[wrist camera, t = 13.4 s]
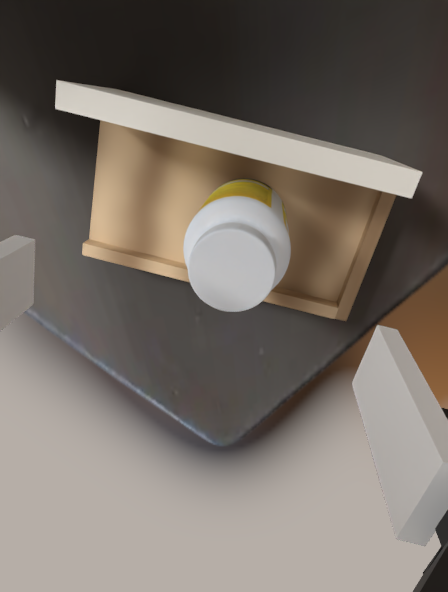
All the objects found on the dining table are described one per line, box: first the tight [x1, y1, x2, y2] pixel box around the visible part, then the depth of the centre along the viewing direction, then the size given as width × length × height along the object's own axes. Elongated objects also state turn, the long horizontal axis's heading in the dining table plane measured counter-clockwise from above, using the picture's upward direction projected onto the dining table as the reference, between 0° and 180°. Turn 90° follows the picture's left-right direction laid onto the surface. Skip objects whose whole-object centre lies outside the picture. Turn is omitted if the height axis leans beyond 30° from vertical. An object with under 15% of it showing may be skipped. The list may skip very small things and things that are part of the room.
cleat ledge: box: [82, 120, 396, 321], centre depth 33 cm, size 22×11×4 cm, turn 77°
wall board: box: [55, 80, 423, 199], centre depth 28 cm, size 21×2×10 cm, turn 77°
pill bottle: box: [183, 178, 291, 312], centre depth 27 cm, size 6×6×12 cm
